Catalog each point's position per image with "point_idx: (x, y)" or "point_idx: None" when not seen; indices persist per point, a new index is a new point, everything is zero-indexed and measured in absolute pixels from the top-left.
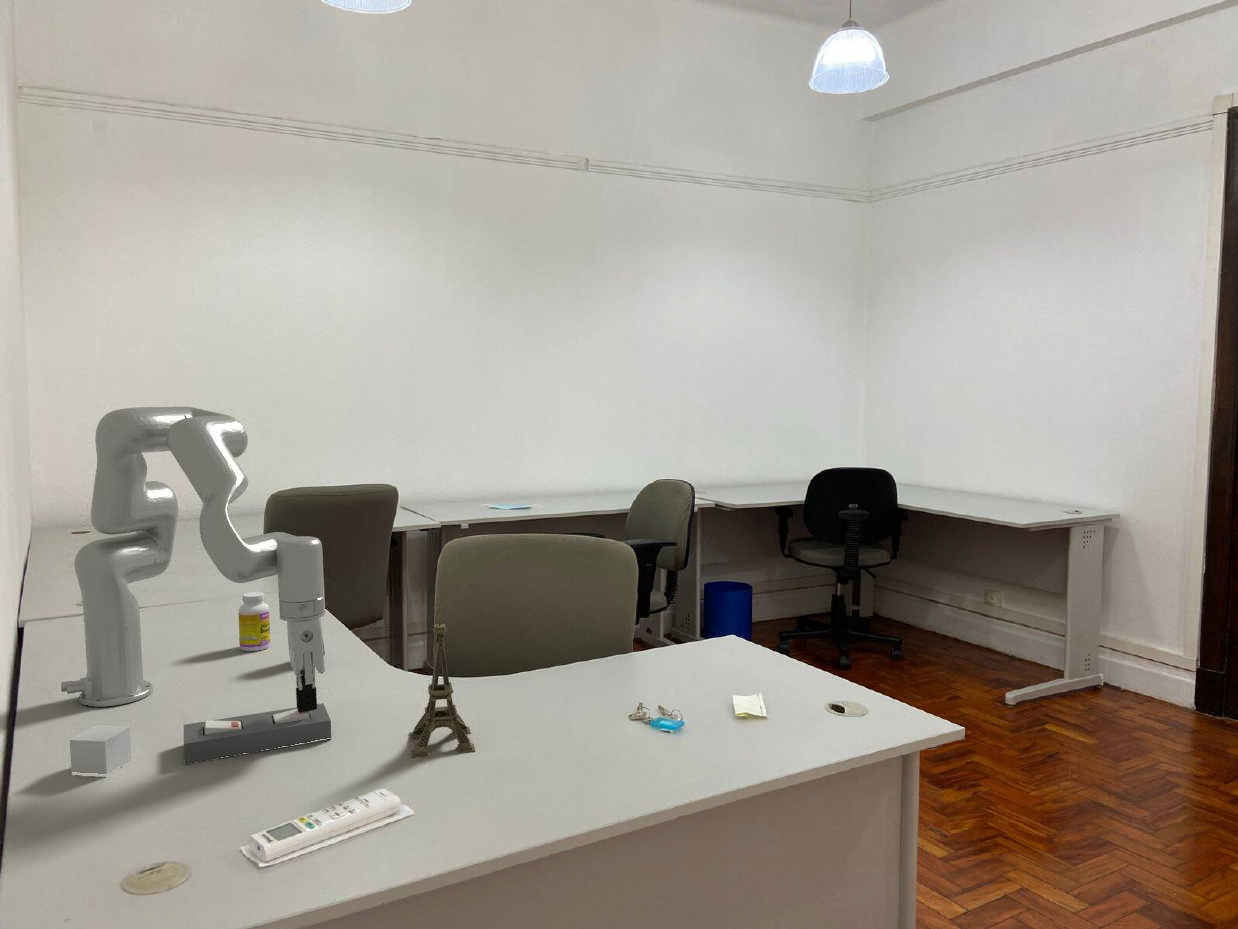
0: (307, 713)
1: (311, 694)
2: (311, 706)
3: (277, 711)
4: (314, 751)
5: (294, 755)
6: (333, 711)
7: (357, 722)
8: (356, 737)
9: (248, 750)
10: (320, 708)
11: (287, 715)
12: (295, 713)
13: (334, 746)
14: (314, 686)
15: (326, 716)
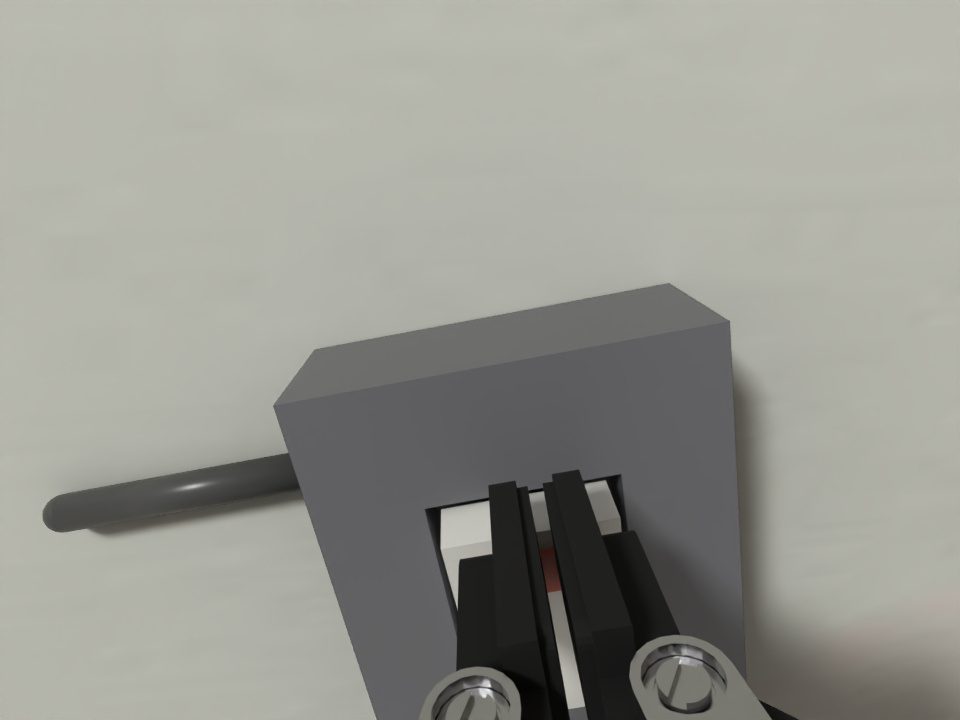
0: (618, 526)
1: (673, 620)
2: (630, 531)
3: (394, 699)
4: (815, 377)
5: (822, 480)
6: (102, 292)
7: (372, 92)
8: (687, 97)
9: None
10: (402, 421)
11: (566, 647)
12: (558, 604)
13: (790, 257)
14: (730, 674)
15: (622, 362)
